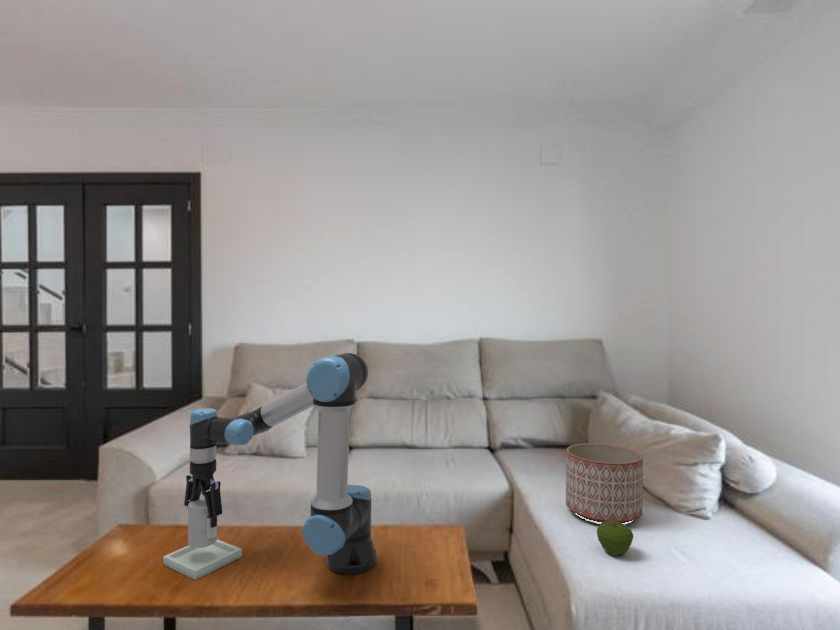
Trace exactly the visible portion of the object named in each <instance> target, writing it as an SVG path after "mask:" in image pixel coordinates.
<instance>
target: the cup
mask: <svg viewBox="0 0 840 630" xmlns="http://www.w3.org/2000/svg"><path fill="white" fill-rule="evenodd" d="M187 510H188V511H187V512H188V513H187V546H189V547H192V548H203V547H207V546H210V545H212V544H214V543H215V542H216V541H217V539H218V530H217V529H218V525H217V526H216V536H215V537H212V538H210V539H207V517H208V516H209V513H208V509H207V505H206V501H205V497H203V498H199V499H198V500H195V501H192V502H190V503H189V504H188V507H187ZM212 513H213V512H212Z"/></svg>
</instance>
